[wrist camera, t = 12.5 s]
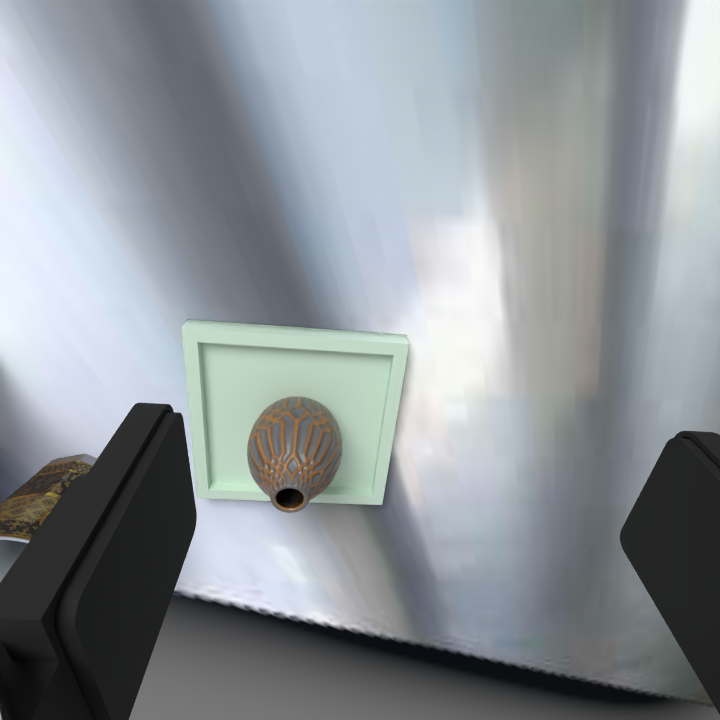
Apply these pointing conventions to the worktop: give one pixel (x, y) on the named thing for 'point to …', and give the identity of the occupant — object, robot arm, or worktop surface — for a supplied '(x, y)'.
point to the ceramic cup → (35, 505)
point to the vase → (294, 451)
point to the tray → (289, 379)
